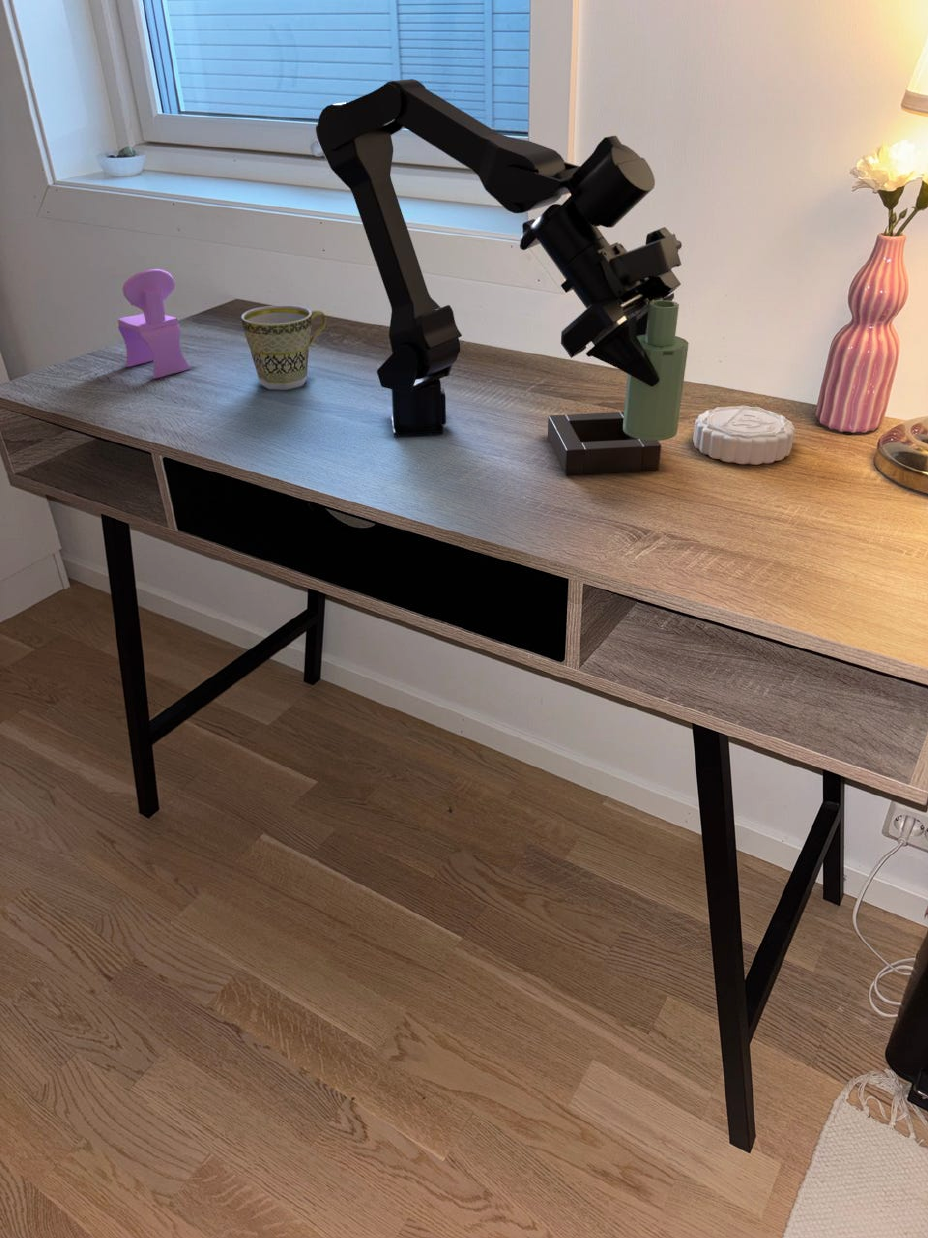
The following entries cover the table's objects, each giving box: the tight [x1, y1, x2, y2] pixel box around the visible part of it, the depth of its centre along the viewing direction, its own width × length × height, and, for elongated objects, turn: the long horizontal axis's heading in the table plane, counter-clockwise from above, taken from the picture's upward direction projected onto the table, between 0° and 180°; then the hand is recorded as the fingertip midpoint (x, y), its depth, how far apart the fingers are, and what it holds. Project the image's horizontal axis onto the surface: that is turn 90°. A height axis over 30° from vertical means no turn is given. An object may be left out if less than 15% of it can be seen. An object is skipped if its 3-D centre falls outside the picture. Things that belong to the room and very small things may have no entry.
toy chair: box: [116, 268, 191, 379], centre depth 147 cm, size 8×9×15 cm
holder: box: [547, 411, 662, 476], centre depth 120 cm, size 11×11×3 cm
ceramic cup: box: [240, 304, 327, 391], centre depth 142 cm, size 13×10×10 cm
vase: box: [623, 300, 689, 441], centre depth 106 cm, size 6×6×14 cm
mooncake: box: [692, 405, 796, 466], centre depth 122 cm, size 12×12×4 cm
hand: (667, 375), depth 105 cm, fingers closed on vase, 6 cm apart
